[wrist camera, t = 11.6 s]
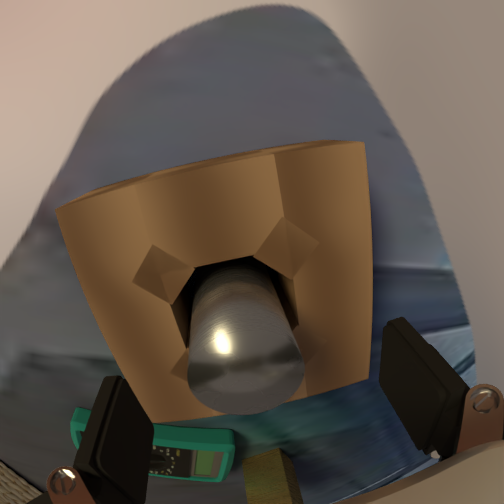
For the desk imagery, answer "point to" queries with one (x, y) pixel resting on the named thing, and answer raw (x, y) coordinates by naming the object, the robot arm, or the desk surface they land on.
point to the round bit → (241, 340)
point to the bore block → (226, 248)
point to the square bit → (271, 479)
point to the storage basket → (15, 488)
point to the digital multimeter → (180, 450)
